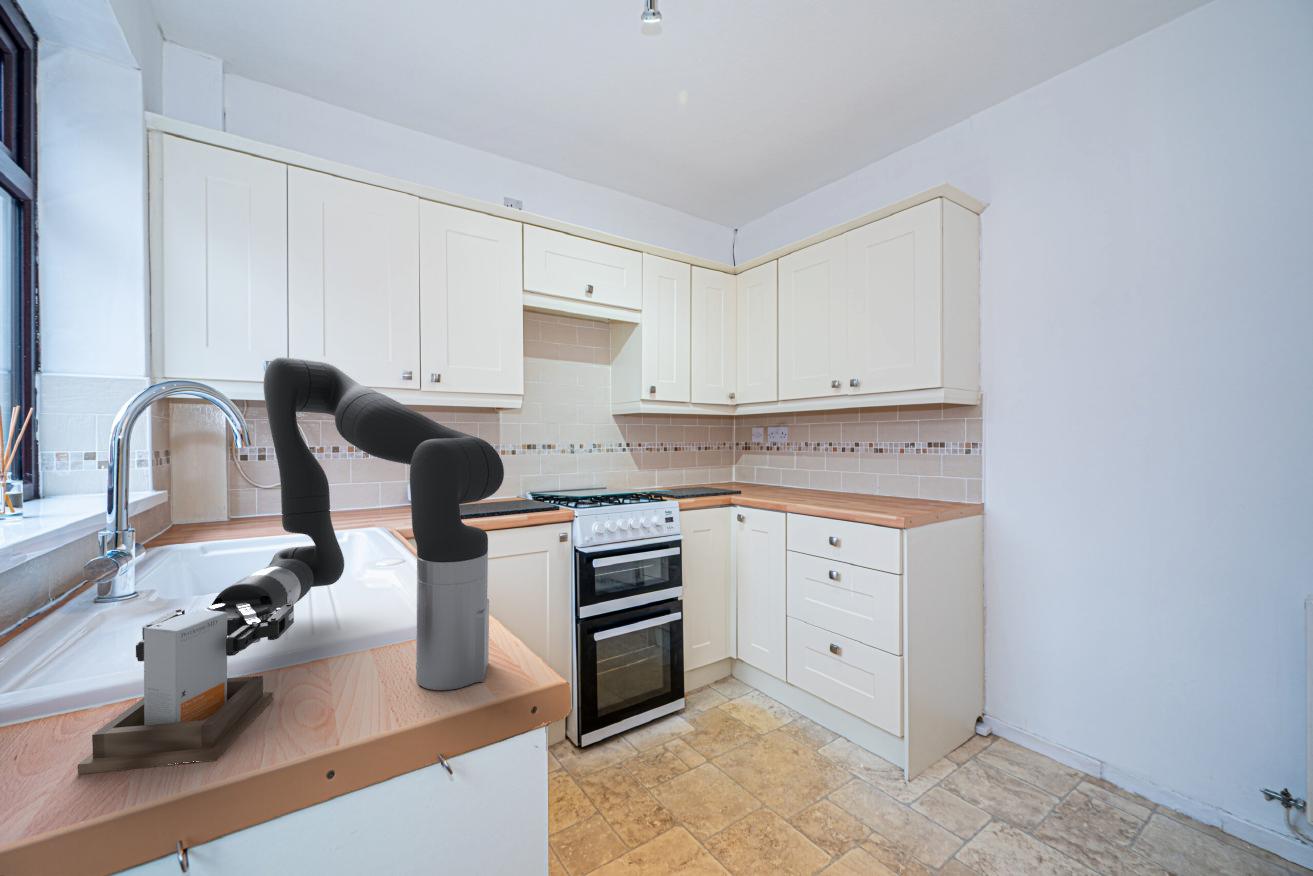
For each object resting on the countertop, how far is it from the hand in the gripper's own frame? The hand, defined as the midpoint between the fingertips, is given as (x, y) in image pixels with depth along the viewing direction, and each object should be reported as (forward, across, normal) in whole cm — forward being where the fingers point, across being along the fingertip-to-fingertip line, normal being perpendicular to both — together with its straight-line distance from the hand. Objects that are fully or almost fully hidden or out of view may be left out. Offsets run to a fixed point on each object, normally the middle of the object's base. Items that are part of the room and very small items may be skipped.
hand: (186, 650), depth 60 cm
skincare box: (0, 0, +9) cm, 9 cm away
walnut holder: (0, 0, +10) cm, 10 cm away
